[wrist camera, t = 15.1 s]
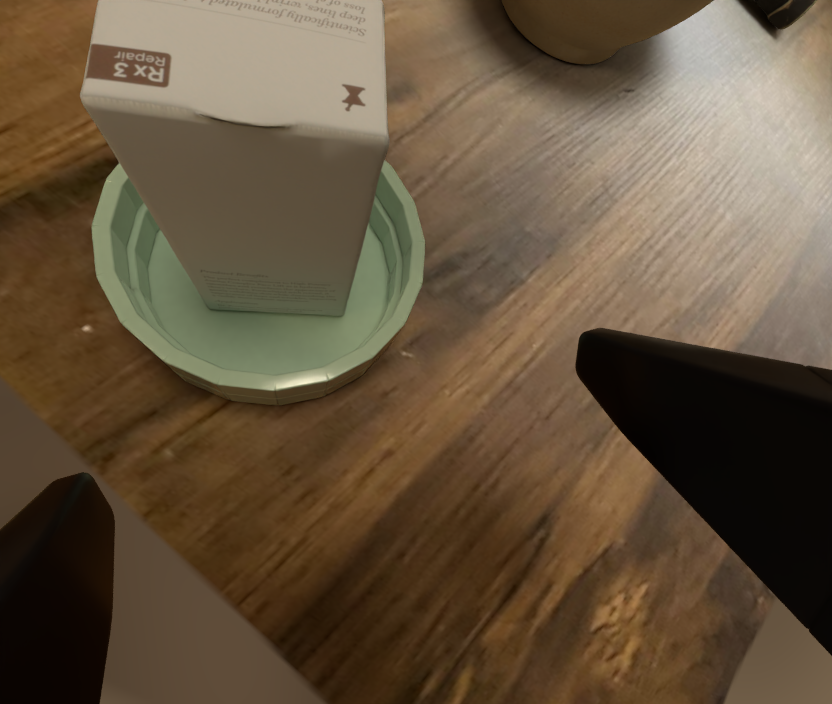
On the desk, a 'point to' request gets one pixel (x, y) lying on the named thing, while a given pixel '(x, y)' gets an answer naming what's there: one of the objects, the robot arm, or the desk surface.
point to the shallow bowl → (249, 330)
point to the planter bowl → (595, 24)
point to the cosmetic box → (248, 138)
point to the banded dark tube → (784, 10)
